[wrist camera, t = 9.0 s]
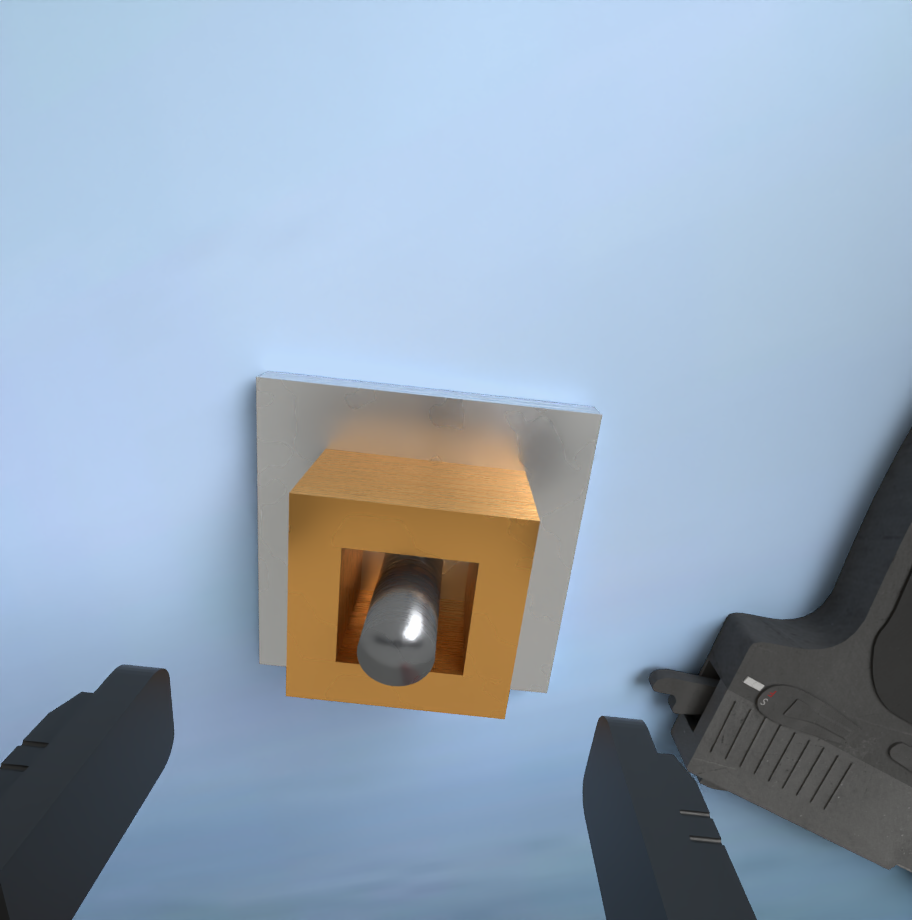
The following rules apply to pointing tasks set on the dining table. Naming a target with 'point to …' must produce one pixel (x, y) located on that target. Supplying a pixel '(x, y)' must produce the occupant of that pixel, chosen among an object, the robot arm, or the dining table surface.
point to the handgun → (819, 697)
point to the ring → (417, 534)
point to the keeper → (436, 439)
